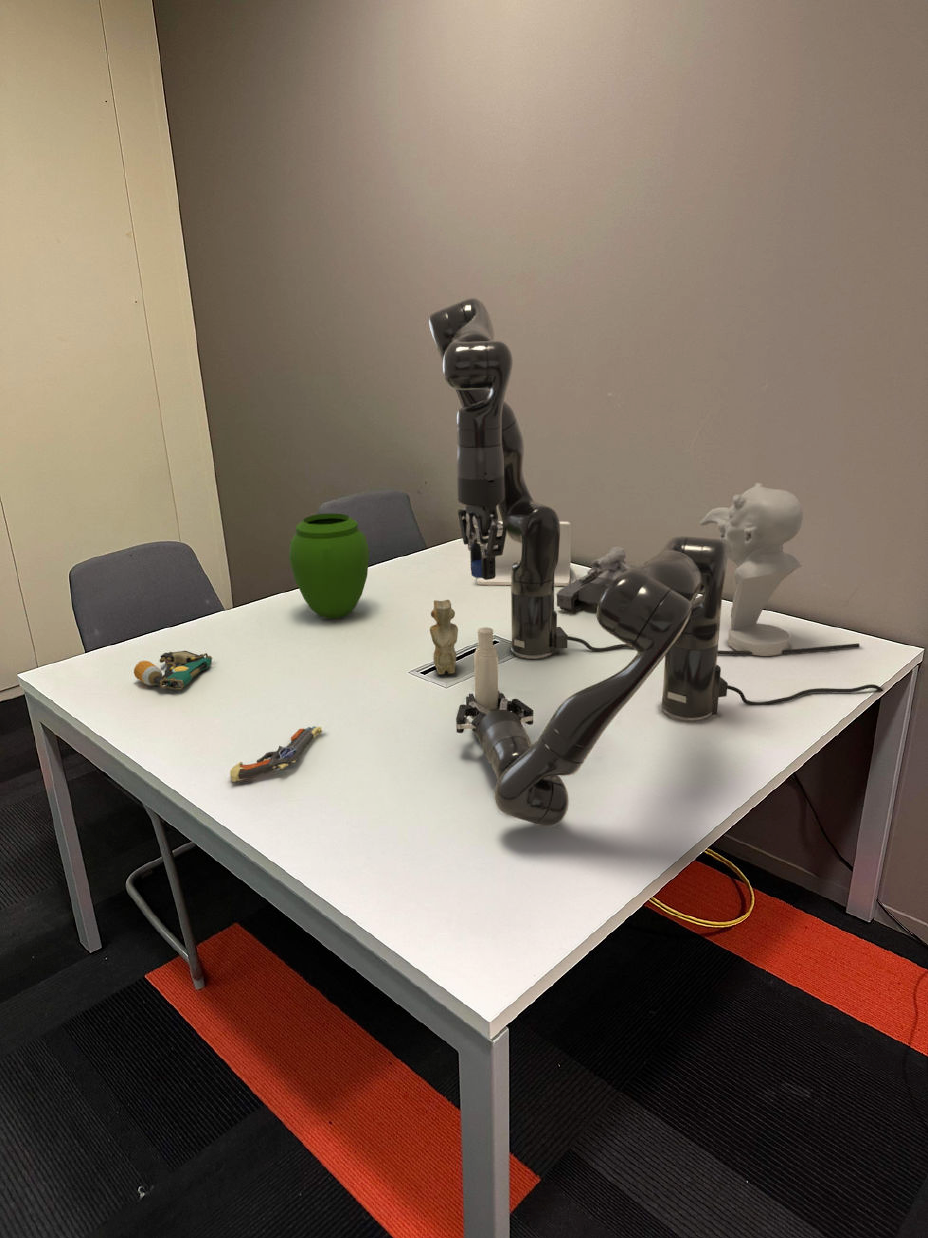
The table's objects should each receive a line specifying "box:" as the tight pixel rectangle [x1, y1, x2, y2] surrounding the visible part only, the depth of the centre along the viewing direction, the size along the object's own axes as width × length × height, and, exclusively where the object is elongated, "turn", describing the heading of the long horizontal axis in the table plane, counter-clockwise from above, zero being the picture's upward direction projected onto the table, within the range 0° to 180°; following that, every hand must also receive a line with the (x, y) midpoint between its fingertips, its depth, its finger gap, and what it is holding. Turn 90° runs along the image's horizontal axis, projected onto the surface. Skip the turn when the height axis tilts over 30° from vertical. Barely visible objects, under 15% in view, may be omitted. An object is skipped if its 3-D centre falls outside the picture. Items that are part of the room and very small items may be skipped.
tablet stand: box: [476, 520, 572, 587], centre depth 236 cm, size 18×25×17 cm
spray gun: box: [133, 650, 213, 690], centre depth 180 cm, size 4×17×15 cm
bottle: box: [473, 626, 499, 738], centre depth 149 cm, size 4×4×20 cm
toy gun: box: [229, 725, 323, 782], centre depth 147 cm, size 3×19×10 cm
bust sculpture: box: [699, 482, 804, 657], centre depth 185 cm, size 16×24×35 cm
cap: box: [470, 559, 482, 579], centre depth 142 cm, size 4×4×2 cm
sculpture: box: [429, 599, 459, 675], centre depth 177 cm, size 6×7×15 cm
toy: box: [556, 546, 637, 613], centre depth 212 cm, size 25×20×15 cm
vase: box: [288, 512, 370, 620], centre depth 209 cm, size 20×20×24 cm
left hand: (483, 574), depth 142 cm, fingers closed on cap, 3 cm apart
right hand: (483, 697), depth 153 cm, fingers closed on bottle, 4 cm apart
